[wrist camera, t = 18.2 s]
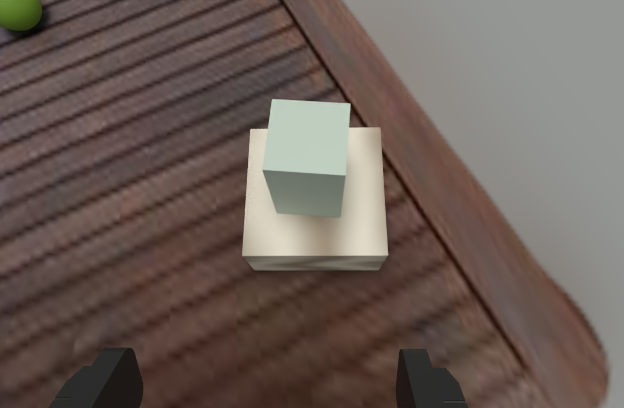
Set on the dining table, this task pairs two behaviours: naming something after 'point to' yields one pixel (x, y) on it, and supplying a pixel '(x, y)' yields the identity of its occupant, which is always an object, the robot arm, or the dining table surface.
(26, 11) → the snail figurine
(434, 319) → the dining table surface
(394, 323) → the dining table surface
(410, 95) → the dining table surface
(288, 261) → the birch block
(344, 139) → the sage block
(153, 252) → the dining table surface
